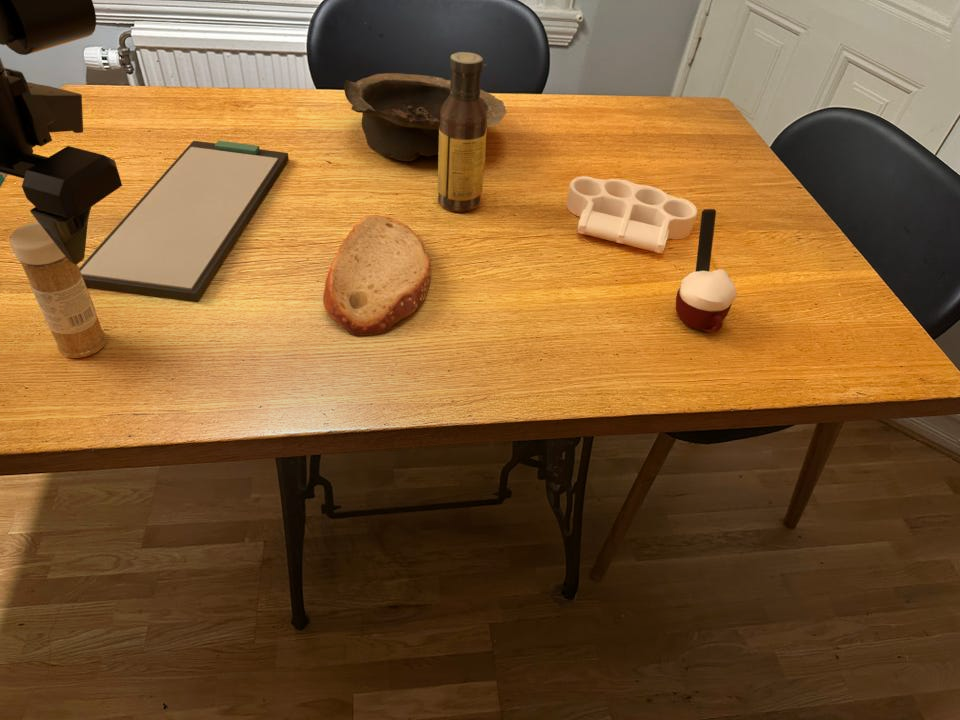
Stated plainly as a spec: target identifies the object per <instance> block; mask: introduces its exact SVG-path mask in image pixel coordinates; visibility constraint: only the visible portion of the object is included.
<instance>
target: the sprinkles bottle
mask: <svg viewBox="0 0 960 720" xmlns="http://www.w3.org/2000/svg"><path fill="white" fill-rule="evenodd" d="M8 240H9V244H10V247H11V250H12V252H13V254H14V257H15V258H16V259H17V261H19V263H20V264H21V266H22V269H23V271H24V273H25V275H26V277H27V279H28V283H29V286H30V288H31V291H32V293H33V295H34V298H35V299H36V302H37V304H38V307H39V308H40V310H41V313H42V316H43V318H44V321H45V322H46V325H47V327H48V329H49V330H50V332H51V335H52V337H53V339H54V341H55V343H56V349H57V351H58V352H59V353H60V355H62V356H64V357H66V358H71V359H80V358H86V357H89V356H92V355H94V354H96V353H97V352H99V351H100V350H101V349H102V348H103V347H104V346H105V345H106V343H107V335H106V333H105V332H104V330H103V328H102V326H101V323H100V321H99V317H98V315H97V312H96V308H95V305H94V302H93V300H92V297H91V294H90V292H89V289H88V287H86V285H85V282H84V280H83V277H82V275H81V272H80V270H79V268H80V267H79V265H78V264H73V263H71V262H70V261H69V259H68V258H67V257H66V256H65V255H64V254H63V253H62V252H61V250H60V249H59V248H58V246H57V245H56V244H55V243H54V241H53V240H52V239H51V237H50V236H49V235H48V234H47V232H46V231H45V230H44V229H43V227H42V226H41V225H40V224H39V222H38V221H33V222H29V223H26V224H23V225H21V226H19V227H18V228H15V230H13V231H12V233H11V234H10V236H9V239H8Z"/></svg>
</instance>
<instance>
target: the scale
mask: <svg viewBox="0 0 960 720" xmlns="http://www.w3.org/2000/svg"><path fill="white" fill-rule="evenodd" d="M288 162H289V153H288V152H285V151H277V150H269V149H260V145H257V144H249V143H241V142H233V141H225V140H217V141H216V142H207V141H201V140H200V141H199V140H192V142H191V143H189V145H188V146H187V147H186V148H185V149H184V150H183V152H182V153H180V155H179V156H178V157H177V158H176V159H175V160H174V161H173V163H172V164H171V165H169V167H168V168H167V169H166V171H165V172H164V173H163V174H162V175H161V176H160V177H159V179H158V180H157V181H156V182H155V183H154V184H153V185H152V186H151V187H150V188H149V189H148V190H147V192H146V193H145V194H144V195H143V196H142V197H141V199H139V201H138V202H136V204H135V206H133V208H132V209H130V211H129V212H128V213H127V214H126V215H125V217H124V218H123V219H122V220H120V221H119V223H118V224H117V225H116V226H115V228H114V229H113V230H112V231H111V232H110V233H109V234H108V235H107V236H106V238H104V240H103V241H102V242H101V243H100V244H99V245H98V246H97V247H96V249H95V250H94V251H92V253H91V255H89V256H88V257H87V259H86V260H85V261H84V262H83V263H82V265H80V267H79V270H80V272H81V275H82V277H83V280H84V282H85V285H86V287H87V288H89V289H96V290H97V289H98V290H104V291H112V292H119V293H121V292H122V293H126V294H136V295H141V296H149V297H150V296H151V297H158V298H164V299H165V298H166V299H171V300H172V299H174V300H180V301H186V302H187V301H188V302H195V303H198V302H200V300H201V299H202V297H203V295H204V294H205V292H206V290H207V288H209V286H210V284H211V283H212V281H213V279H215V276H216V275H217V274H218V272H219V270H220V269H221V267H222V265H223V264H224V262H225V261H226V259H227V258H228V257H229V255H230V253H231V252H232V250H233V248H235V245H236V244H237V242H238V240H239V239H240V237H241V236H242V234H243V233H244V231H245V230H246V228H247V227H248V225H249V223H250V222H251V220H252V219H253V217H254V216H255V214H256V213H257V211H258V209H259V208H260V206H261V204H262V203H263V202H264V200H265V198H266V196H267V195H268V193H269V192H270V190H271V189H272V187H273V185H274V184H275V183H276V181H277V179H278V178H279V177H280V175H281V174H282V172H283V170H284V169H285V167H286V165H288Z"/></svg>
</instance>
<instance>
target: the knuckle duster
mask: <svg viewBox="0 0 960 720" xmlns="http://www.w3.org/2000/svg"><path fill="white" fill-rule="evenodd" d="M565 206H566V209H567V210H568V211H569V212H570V213H571V214H572V215H574V216H576V217H579V221H578V224H577V227H576V233H578V234H581V235H586V236H589V237H595V238H597V239H602V240H606V241H610V242H613V243H617V244H623V245H626V246H630V247H634V248H638V249H642V250H646V251H649V252H653V253H657V254H663V252H664V250H665V247H666V243H667V241H668V240H683V239H685V238H687V237H689V236H690V235H691V233H692V230H693V228H694V224H695V223H696V219H697V216H698V208H697V207H696V204H694V203H693V202H692V201H690V200H688V199H686V198H681V197H677V196H673V195H670V194H668V193H667V192H665V191H663V190H662V189H659V188H657V187H654V186H652V185H647V184H638V183H635V182H631V181H629V180H627V179H619V178H610V179H602V178H595V177H591V176H589V175H583V176H577V177H575V178H573V179H572V180H571V181H570V182H569V186H568V191H567V196H566V201H565Z"/></svg>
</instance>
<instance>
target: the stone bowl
mask: <svg viewBox="0 0 960 720" xmlns="http://www.w3.org/2000/svg"><path fill="white" fill-rule="evenodd" d="M450 86H451V79H450V80H449V79H445V78H444V77H437V76H434V75H424V74H423V75H422V74H411V73H408V74H407V73H402V72H401V73H400V72H389V73H388V72H387V73H386V72H385V73H375V74H373V75H370V76H368V77H364V78H361V79H359V80H356V81H355V82H354V81H350V80H348V79H347V78H346V79H345V80H344V85H343V90H344V96H345V98H346V100H347V102H348V103H349V104H350V105H351V108H350V110H351V111H353V112H356V113H359V114H360V113H361V115H362V117H361V129H362V131H363V133H364V136H365V139H366V144H367V146H368V147H369V148H370V149H372V150H373V151H376V152H377V154H380V155H381V156H383V157H384V158H387V159H388V158H393V159H394V160H396V161H397V160H398V161H401V162H406V161H407V162H409V161H414V160H416V159H418V158H419V157H420V155H421V156H425V157H432V156H435V155H438V154H439V127H440V112H441V108H442V106H443V104H444V103H445V101H446V100H447V98H448V97H449V95H450ZM479 97H480V99H481V101H482V102H483V104H484V106H485V109H486V112H487V128H489V127H496V126H498V125H499V124H500V123H501V121H503V119H504V116H505V115H506V114H507V113H508V112H507V111H508V110H507V109H506V105H504V104H505V103H504V101H503V100H501V99H499V98H497V97H496V96H495V95H493V94H491V93H489V92H487V91H485V90H483V89H480V96H479Z"/></svg>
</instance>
